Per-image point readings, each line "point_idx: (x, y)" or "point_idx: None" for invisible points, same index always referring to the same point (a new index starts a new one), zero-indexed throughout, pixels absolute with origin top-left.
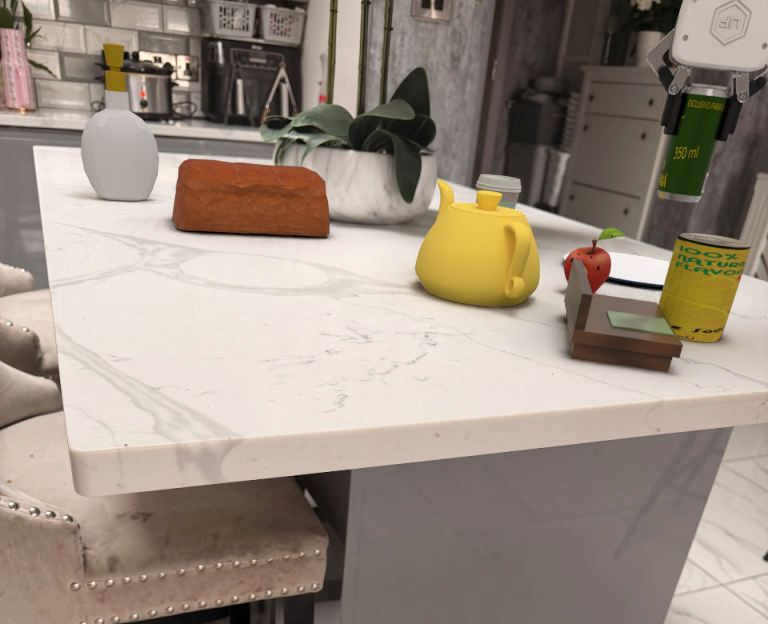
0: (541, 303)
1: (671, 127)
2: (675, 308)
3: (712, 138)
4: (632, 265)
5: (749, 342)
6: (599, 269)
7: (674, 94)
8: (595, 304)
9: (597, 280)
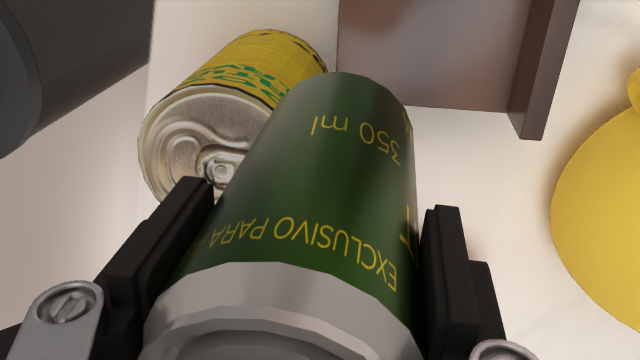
0: (532, 170)
1: (446, 215)
2: (304, 63)
3: (250, 164)
4: None
5: (165, 74)
6: None
7: (492, 340)
8: (489, 6)
9: None
